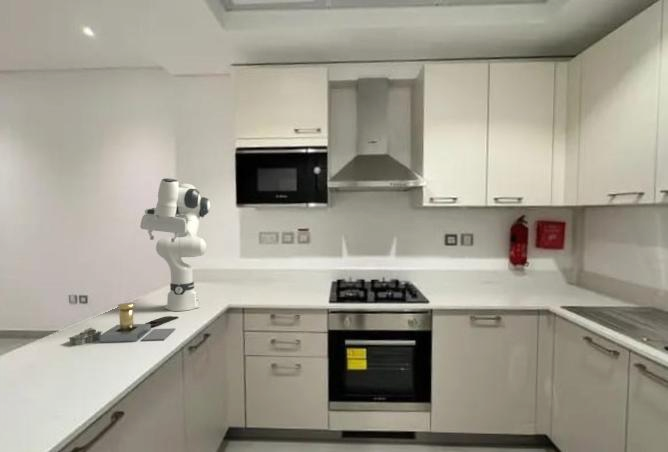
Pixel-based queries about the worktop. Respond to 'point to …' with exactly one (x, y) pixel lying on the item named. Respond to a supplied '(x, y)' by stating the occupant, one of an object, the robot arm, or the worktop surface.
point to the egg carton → (85, 337)
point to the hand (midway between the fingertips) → (162, 240)
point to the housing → (125, 333)
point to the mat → (158, 334)
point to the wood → (161, 320)
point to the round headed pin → (126, 316)
